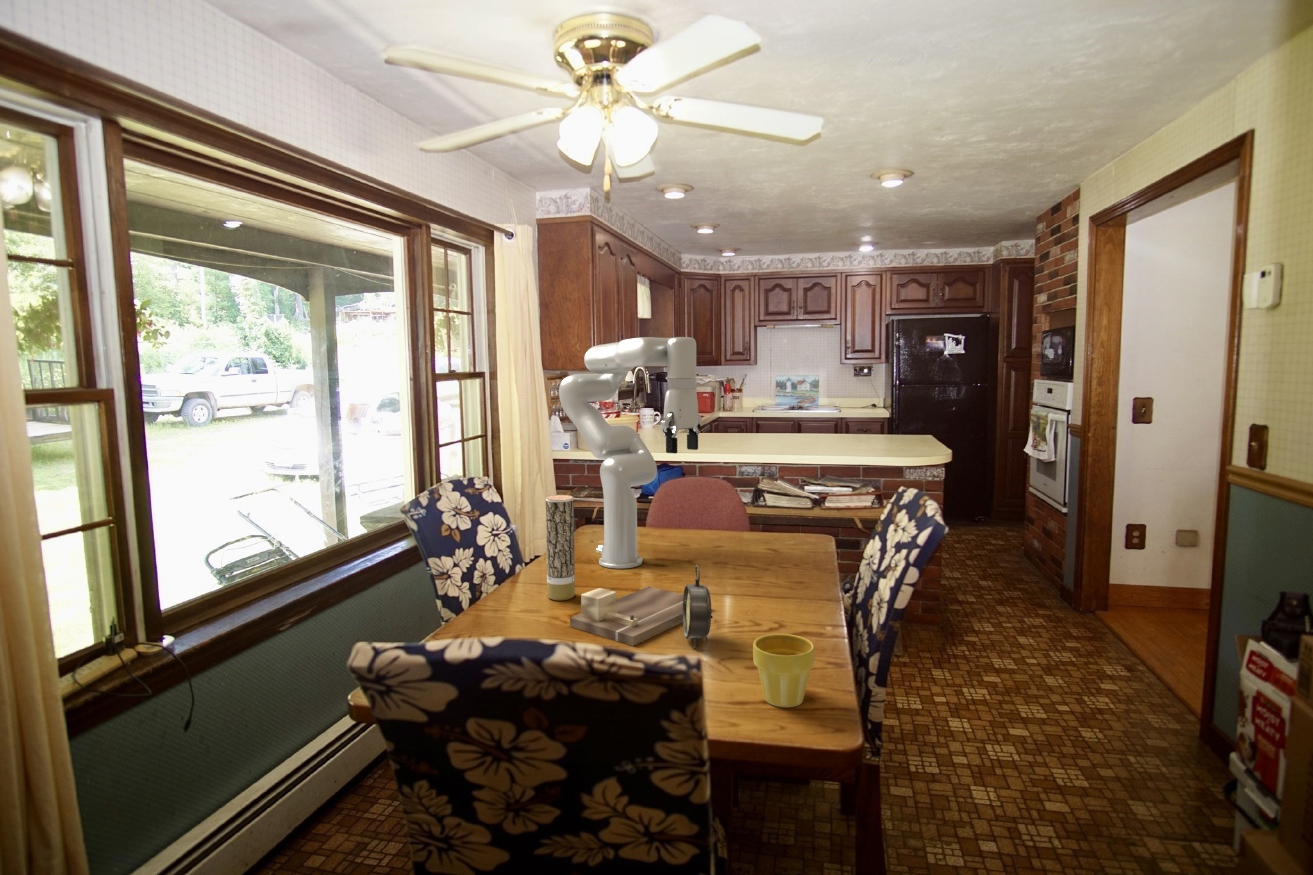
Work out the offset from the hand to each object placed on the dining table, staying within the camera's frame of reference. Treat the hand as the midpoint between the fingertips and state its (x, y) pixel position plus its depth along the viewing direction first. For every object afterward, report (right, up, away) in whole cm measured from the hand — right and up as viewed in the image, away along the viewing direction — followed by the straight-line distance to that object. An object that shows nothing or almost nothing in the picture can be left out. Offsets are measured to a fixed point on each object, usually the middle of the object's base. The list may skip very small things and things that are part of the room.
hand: (682, 451), depth 184 cm
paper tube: (-30, -36, -9) cm, 48 cm away
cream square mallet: (-16, -36, -30) cm, 50 cm away
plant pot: (+15, -42, -63) cm, 77 cm away
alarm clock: (+2, -39, -37) cm, 54 cm away
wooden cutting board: (-10, -37, -23) cm, 45 cm away
